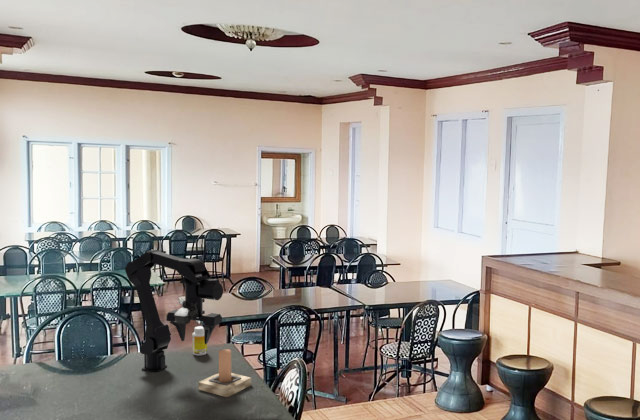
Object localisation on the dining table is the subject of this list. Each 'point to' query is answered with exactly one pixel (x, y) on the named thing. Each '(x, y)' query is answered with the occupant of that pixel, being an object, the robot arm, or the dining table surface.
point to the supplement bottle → (198, 341)
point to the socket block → (225, 385)
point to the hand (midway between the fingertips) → (194, 342)
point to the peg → (225, 365)
